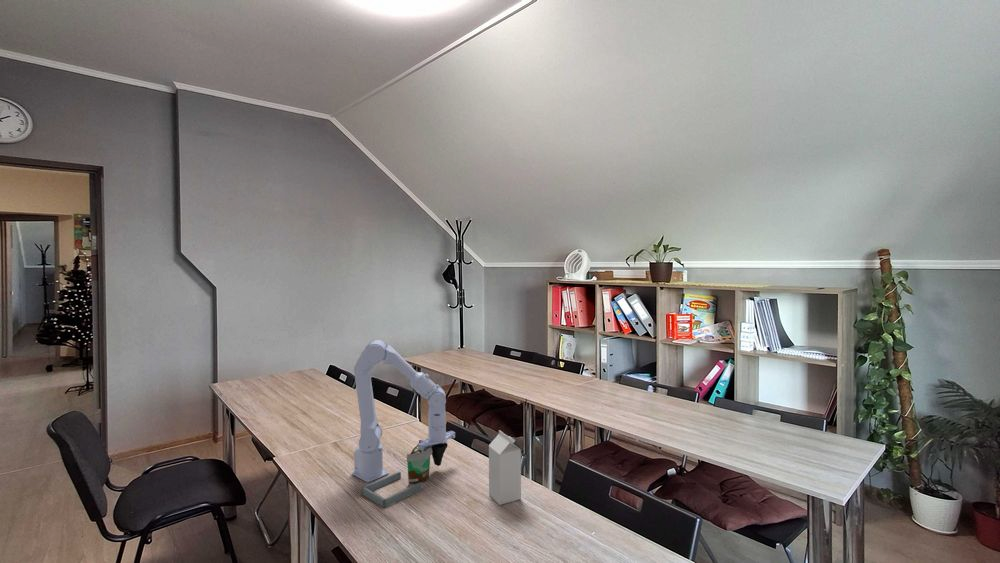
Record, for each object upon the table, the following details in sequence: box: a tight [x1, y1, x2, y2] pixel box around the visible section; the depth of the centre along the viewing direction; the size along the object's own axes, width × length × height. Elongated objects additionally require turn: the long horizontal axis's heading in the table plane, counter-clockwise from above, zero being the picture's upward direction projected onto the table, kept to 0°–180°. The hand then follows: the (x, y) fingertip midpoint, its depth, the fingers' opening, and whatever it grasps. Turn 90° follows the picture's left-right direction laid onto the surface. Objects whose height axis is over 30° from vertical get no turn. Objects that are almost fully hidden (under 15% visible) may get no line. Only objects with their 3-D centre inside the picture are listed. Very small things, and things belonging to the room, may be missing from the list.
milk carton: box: [488, 430, 522, 506], centre depth 135 cm, size 7×7×19 cm
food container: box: [406, 439, 433, 485], centre depth 147 cm, size 12×6×10 cm, turn 171°
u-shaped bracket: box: [361, 470, 423, 508], centre depth 139 cm, size 12×14×2 cm
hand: (437, 464), depth 152 cm, fingers closed
